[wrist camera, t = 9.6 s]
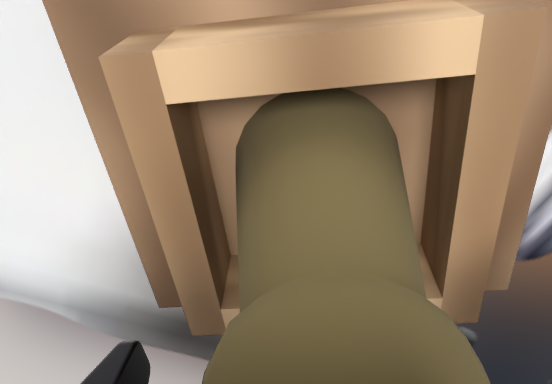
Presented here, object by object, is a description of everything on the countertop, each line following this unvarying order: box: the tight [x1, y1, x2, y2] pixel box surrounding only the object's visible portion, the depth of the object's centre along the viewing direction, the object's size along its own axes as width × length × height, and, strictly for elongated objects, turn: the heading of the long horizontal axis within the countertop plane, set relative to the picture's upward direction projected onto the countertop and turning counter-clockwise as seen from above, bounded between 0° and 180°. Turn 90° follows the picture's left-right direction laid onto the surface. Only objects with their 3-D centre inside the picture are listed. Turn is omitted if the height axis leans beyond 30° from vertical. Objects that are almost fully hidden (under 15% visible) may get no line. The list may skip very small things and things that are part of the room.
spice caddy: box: [42, 0, 552, 336], centre depth 15 cm, size 16×14×4 cm
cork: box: [202, 87, 491, 384], centre depth 11 cm, size 6×6×11 cm
